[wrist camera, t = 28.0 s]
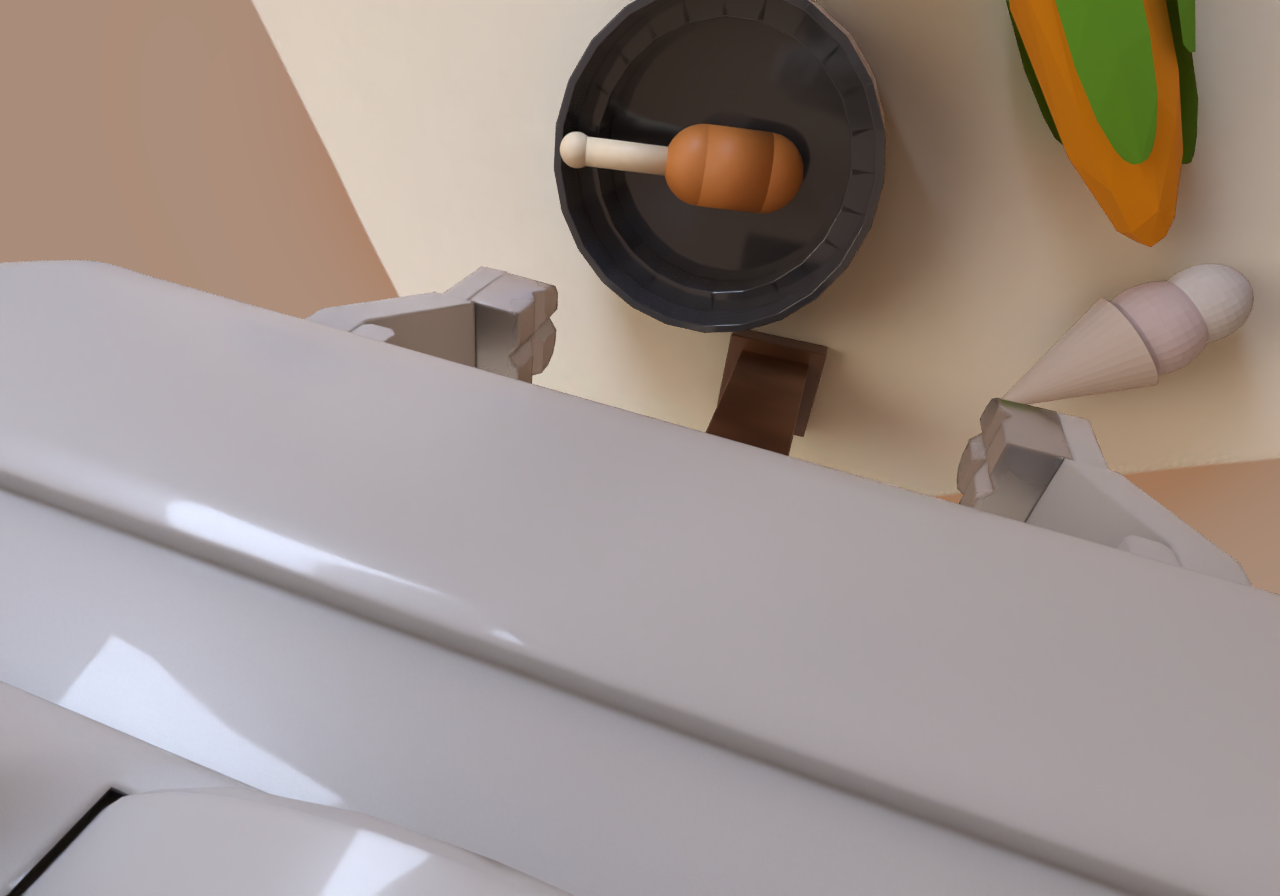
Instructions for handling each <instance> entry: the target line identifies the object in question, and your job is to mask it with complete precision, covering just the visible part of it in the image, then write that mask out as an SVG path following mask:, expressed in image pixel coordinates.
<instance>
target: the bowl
mask: <svg viewBox="0 0 1280 896" xmlns="http://www.w3.org/2000/svg"><path fill="white" fill-rule="evenodd" d="M696 124H712V125H720V126H728V127H736V128H744V129H752V130H759V131H767V132H773V133H777V134H780V135H782V136H784V137H786V138H788V139H789V140H790V141H792V142H793V144H794V145H795V146H796V147H797V149H798V151H799V153H800V155H801V157H802V162H803V180H802V183H801V186H800V188H799V191H798V192H797V194H796V195H795V197H794V198H793V199H792V200H791V201H790V202H789V203H788V204H787V205H786V206H784V207H783V208H781V209H779V210H777V211H775V212H771V213H765V214H763V213H750V212H742V211H734V210H726V209H718V208H709V207H701V206H695V205H690V204H687V203H685V202H683V201H682V200H680V199H679V198H677V197H676V196H675V195H674V193H673V192H672V191H671V190H670V188H669V186H668V185H667V182H666V179H665V176H663V175H654V174H646V173H638V172H630V171H622V170H614V169H606V168H598V167H590V166H585V167H582V168H573V167H570V166H568V165H567V164H566V163H565V162H564V161H563V159H562V157H561V154H560V145H561V142H562V140H563V138H564V137H565V136H566V135H567V134H569V133H571V132H581V133H584V134H585V135H587V136H588V137H595V138H603V139H611V140H619V141H627V142H635V143H643V144H651V145H659V146H667V147H668V146H669V144H670V143H671V141H672V139H673V138H674V137H675V136H676V135H677V134H678V133H679V132H681V131H682V130H683V129H685V128H687V127H689V126H692V125H696ZM884 164H885V117H884V113H883V109H882V104H881V100H880V96H879V92H878V88H877V84H876V80H875V76H874V74H873V72H872V70H871V68H870V67H869V65H868V63H867V61H866V60H865V58H864V56H863V54H862V53H861V51H860V49H859V47H858V46H857V44H856V42H855V40H854V38H853V37H852V36H851V34H850V33H849V32H848V31H847V30H846V29H845V28H844V27H843V26H841V25H840V24H839V23H838V22H837V21H836V20H835V19H834V18H833V17H832V16H831V15H830V14H829V13H828V12H827V11H826V10H825V9H824V8H822V7H821V6H820V5H819V4H818V3H816V2H814V1H812V0H636V1H634V2H632V3H630V4H628V5H627V6H625V7H624V8H623V9H622V10H621V11H620V12H619V13H618V14H617V15H616V16H615V17H614V18H613V19H612V20H611V21H610V22H609V23H608V24H607V25H606V26H605V27H604V28H603V29H602V30H601V31H600V32H599V33H598V34H597V35H596V36H595V37H594V38H593V39H592V40H591V42H590V44H589V46H588V47H587V49H586V51H585V52H584V54H583V56H582V58H581V59H580V61H579V63H578V65H577V66H576V68H575V70H574V71H573V73H572V75H571V77H570V78H569V81H568V84H567V87H566V91H565V94H564V98H563V101H562V105H561V108H560V112H559V115H558V119H557V122H556V133H555V157H554V172H555V177H556V183H557V188H558V193H559V199H560V204H561V209H562V213H563V215H564V218H565V220H566V222H567V224H568V227H569V229H570V231H571V234H572V236H573V238H574V241H575V243H576V245H577V248H578V249H579V251H580V252H581V254H582V255H583V256H584V258H585V259H586V261H587V262H588V263H589V265H590V266H591V267H592V269H593V270H594V271H595V273H596V274H597V275H598V277H599V278H600V280H601V281H603V283H604V284H605V285H607V286H608V287H609V288H610V289H611V290H612V291H614V292H615V293H616V294H617V295H618V296H619V297H621V298H622V299H623V300H624V301H625V302H627V303H628V304H629V305H630V306H631V307H633V308H635V309H637V310H639V311H641V312H643V313H645V314H647V315H649V316H651V317H653V318H655V319H657V320H659V321H661V322H663V323H665V324H667V325H672V326H676V327H681V328H685V329H690V330H694V331H699V332H704V333H710V332H742V331H746V330H749V329H752V328H756V327H759V326H763V325H766V324H770V323H773V322H776V321H780V320H782V319H784V318H785V317H787V316H789V315H790V314H792V313H794V312H795V311H797V310H799V309H800V308H802V307H804V306H805V305H807V304H809V303H811V302H812V301H814V300H816V299H817V298H818V297H819V296H820V295H821V294H822V293H823V292H824V291H825V290H826V289H827V288H828V287H829V286H830V285H831V284H832V283H833V282H834V281H835V280H836V279H837V278H838V277H839V276H840V275H841V274H842V273H843V272H844V271H845V270H846V269H847V267H848V266H849V264H850V262H851V261H852V259H853V257H854V256H855V254H856V252H857V251H858V249H859V247H860V245H861V244H862V242H863V240H864V239H865V237H866V235H867V234H868V232H869V230H870V228H871V225H872V222H873V218H874V215H875V211H876V208H877V204H878V201H879V197H880V194H881V190H882V187H883V184H884Z"/></svg>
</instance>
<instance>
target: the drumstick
mask: <svg viewBox="0 0 1280 896" xmlns="http://www.w3.org/2000/svg"><path fill="white" fill-rule="evenodd" d="M560 154H561V157H562V159H563V161H564V162H565V163H566V164H567V165H568V166H570V167H573V168H582V167H585V166H590V167H598V168H606V169H614V170H622V171H630V172H638V173H646V174H654V175H663V176H665V179H666V182H667V185H668V186H669V188H670V190H671V191H672V192H673V193H674V195H675V196H676V197H677V198H679V199H680V200H682V201H683V202H685V203H687V204H690V205H695V206H701V207H709V208H718V209H726V210H734V211H742V212H750V213H763V214H765V213H771V212H775V211H777V210H779V209H781V208H783V207H784V206H786V205H787V204H788V203H789V202H790V201H791V200H792V199H793V198H794V197H795V195H796V194H797V192H798V191H799V188H800V186H801V183H802V180H803V162H802V157H801V155H800V153H799V151H798V149H797V147H796V146H795V145H794V144H793V142H792V141H790V140H789V139H788V138H786V137H784V136H782V135H780V134H777V133H773V132H767V131H759V130H752V129H744V128H736V127H728V126H720V125H712V124H696V125H692V126H689V127H687V128H685V129H683V130H682V131H681V132H679V133H678V134H677V135H676V136H675V137H674V138H673V139H672V141H671V143H670V144H669V146H668V147H667V146H659V145H651V144H643V143H635V142H627V141H619V140H611V139H603V138H595V137H588V136H587V135H585V134H584V133H581V132H571V133H569V134H567V135H566V136H565V137H564V138H563V140H562V142H561V145H560Z"/></svg>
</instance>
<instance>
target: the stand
mask: <svg viewBox="0 0 1280 896" xmlns="http://www.w3.org/2000/svg"><path fill="white" fill-rule="evenodd" d="M826 354H827V347H823V346H819V345H814V344H810V343H805V342H801V341H796V340H792V339H787V338H782V337H778V336H773V335H769V334H764V333H760V332H755V331H751V330H746V331H742V332H732V334H731V338H730V343H729V348H728V354H727V359H726V364H725V369H724V374H723V379H722V384H721V389H720V394H719V399H718V404H717V408H716V410H715V412H714V415H713V417H712V419H711V422H710V424H709V426H708V428H707V431H706V433H708V434H712V435H715V436H719V437H722V438H726V439H730V440H733V441H737V442H740V443H744V444H747V445H751V446H754V447H758V448H762V449H765V450H769V451H772V452H776V453H779V454H783V455H786V456H789V452H790V448H791V443H792V439H793V435H797V436H801V437H803V436H804V433H805V430H806V426H807V422H808V419H809V415H810V412H811V408H812V405H813V401H814V398H815V394H816V390H817V387H818V383H819V380H820V376H821V373H822V369H823V366H824V362H825V359H826Z"/></svg>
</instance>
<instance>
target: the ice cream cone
mask: <svg viewBox="0 0 1280 896" xmlns="http://www.w3.org/2000/svg"><path fill="white" fill-rule="evenodd" d="M1253 301H1254V298H1253V290H1252V287H1251V285H1250V283H1249V282H1248V280H1247V279H1246V278H1245V277H1244V276H1243V275H1242V274H1241V273H1240V272H1238V271H1236V270H1234V269H1233V268H1230V267H1227V266H1224V265H1219V264H1200V265H1196V266H1192V267H1189V268H1186V269H1184V270H1182V271H1179V272H1178V273H1176V274H1175V275H1173V276H1172V277H1171V278H1169V279H1168V280H1167V281H1166V282H1163V281H1156V282H1147V283H1143V284H1139V285H1136V286H1134V287H1132V288H1129V289H1127V290H1125V291H1123V292H1122V293H1120V294H1119V295H1117V296H1116V297H1115V298H1114V299H1113V300H1112V301H1111V302H1109V301H1107V300H1105V299H1099V300H1098V301H1097V302H1096V303H1095V304H1094V305H1093V306H1092V307H1091V308H1090V309H1089V310H1088V311H1087V312H1086V313H1085V314H1084V315H1083V316H1082V317H1081V318H1080V319H1079V320H1078V321H1077V322H1076V323H1075V324H1074V325H1073V326H1072V327H1071V328H1070V329H1069V330H1068V331H1067V332H1066V333H1065V334H1064V335H1063V336H1062V337H1061V338H1060V340H1059V341H1058V342H1057V343H1056V344H1055V345H1054V346H1053V347H1052V348H1051V349H1050V350H1049V351H1048V352H1047V353H1046V354H1045V355H1044V356H1043V357H1042V358H1041V359H1040V360H1039V361H1038V362H1037V363H1036V364H1035V365H1034V366H1033V367H1032V368H1031V369H1030V370H1029V371H1028V372H1027V373H1026V374H1025V375H1024V376H1023V377H1022V378H1021V379H1020V380H1019V381H1018V382H1017V383H1016V384H1015V385H1014V386H1013V387H1012V388H1011V389H1010V390H1009V391H1008V392H1007V393H1006V394H1005V395H1004V396H1003V397H1002V398H1001V399H1004V400H1009V401H1013V402H1017V403H1022V404H1026V405H1027V404H1033V403H1040V402H1046V401H1053V400H1060V399H1066V398H1073V397H1079V396H1086V395H1092V394H1099V393H1106V392H1112V391H1119V390H1125V389H1132V388H1138V387H1145V386H1152V385H1156V384H1157V382H1158V375H1160V374H1165V373H1169V372H1172V371H1175V370H1177V369H1180V368H1181V367H1183V366H1185V365H1186V364H1188V363H1190V362H1191V361H1192V360H1193V359H1194V358H1196V357H1197V356H1198V355H1199V354H1200V352H1201V351H1202V350H1203V349H1204V347H1205V346H1206V344H1207V342H1211V341H1216V340H1219V339H1221V338H1224V337H1226V336H1228V335H1229V334H1231V333H1233V332H1234V331H1236V330H1237V329H1238V328H1239V327H1240V326H1241V325H1242V324H1243V323H1244V322H1245V321H1246V319H1247V318H1248V316H1249V314H1250V312H1251V310H1252V306H1253Z"/></svg>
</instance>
